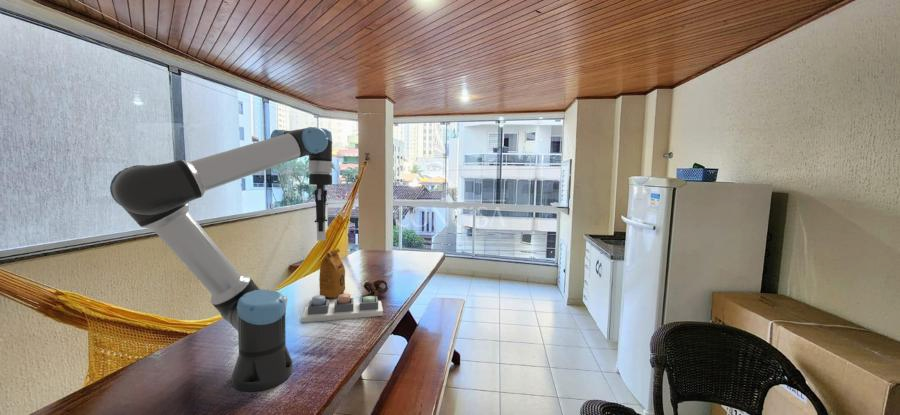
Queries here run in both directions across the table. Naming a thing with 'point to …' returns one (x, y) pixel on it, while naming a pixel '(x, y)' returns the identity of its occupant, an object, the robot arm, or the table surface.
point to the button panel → (342, 310)
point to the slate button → (318, 300)
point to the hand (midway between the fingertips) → (321, 240)
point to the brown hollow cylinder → (376, 287)
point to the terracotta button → (344, 298)
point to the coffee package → (332, 275)
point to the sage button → (368, 299)
